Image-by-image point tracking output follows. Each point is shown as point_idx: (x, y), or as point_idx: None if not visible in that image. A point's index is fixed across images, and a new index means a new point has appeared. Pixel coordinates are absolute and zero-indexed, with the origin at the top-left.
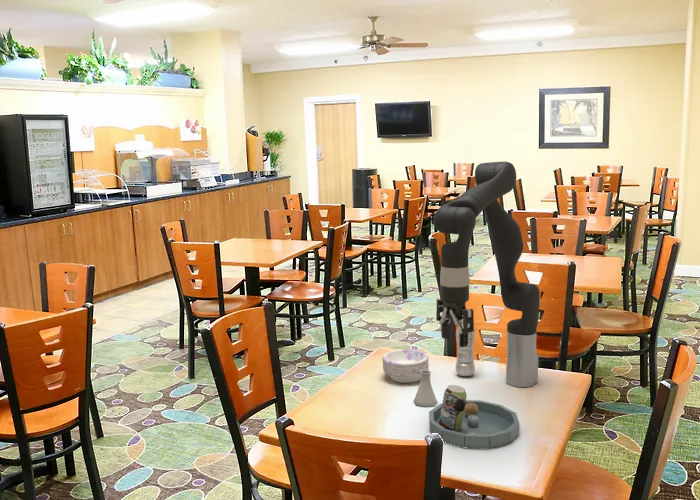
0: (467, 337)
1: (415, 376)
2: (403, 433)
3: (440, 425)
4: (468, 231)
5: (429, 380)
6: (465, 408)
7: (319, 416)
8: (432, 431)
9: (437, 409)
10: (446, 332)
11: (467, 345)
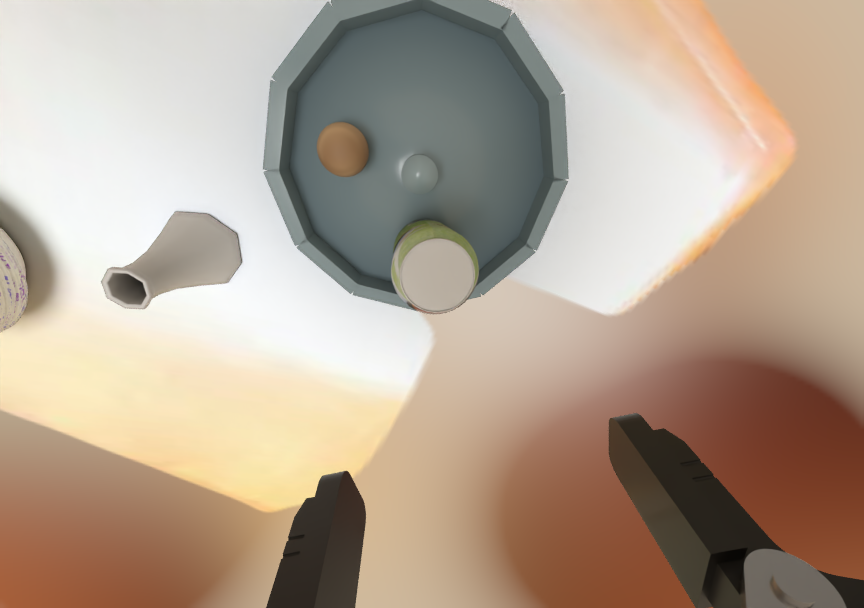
0: (732, 505)
1: (8, 247)
2: (402, 350)
3: None
4: None
5: (158, 264)
6: (348, 176)
7: (286, 476)
8: None
9: (337, 266)
10: (347, 544)
11: (638, 415)
